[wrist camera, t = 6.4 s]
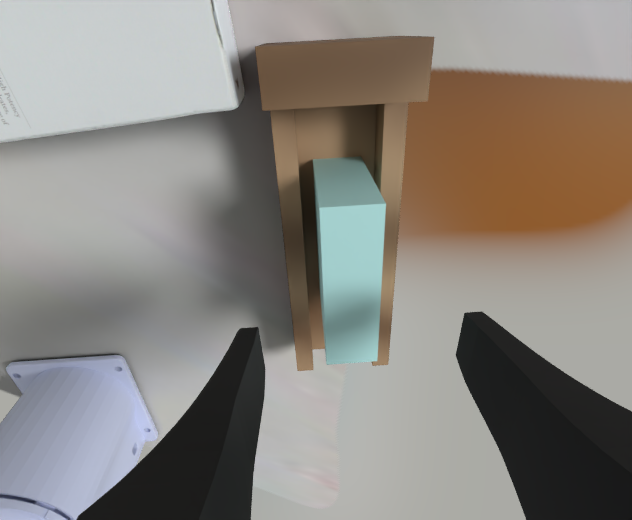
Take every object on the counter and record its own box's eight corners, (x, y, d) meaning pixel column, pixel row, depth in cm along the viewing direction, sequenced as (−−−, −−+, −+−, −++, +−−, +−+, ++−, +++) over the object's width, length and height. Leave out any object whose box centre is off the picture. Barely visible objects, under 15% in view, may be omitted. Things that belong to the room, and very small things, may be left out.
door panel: (358, 287, 23) (377, 361, 17) (319, 289, 23) (326, 364, 17) (361, 156, 18) (386, 203, 13) (312, 159, 18) (319, 207, 13)
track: (381, 334, 26) (397, 392, 22) (296, 340, 26) (296, 400, 22) (398, 35, 17) (434, 36, 12) (265, 43, 17) (255, 47, 12)
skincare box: (0, 130, 18) (249, 99, 18) (-75, 157, 14) (241, 117, 14) (-86, -29, 15) (219, -66, 15) (-215, -52, 11) (198, -100, 11)
